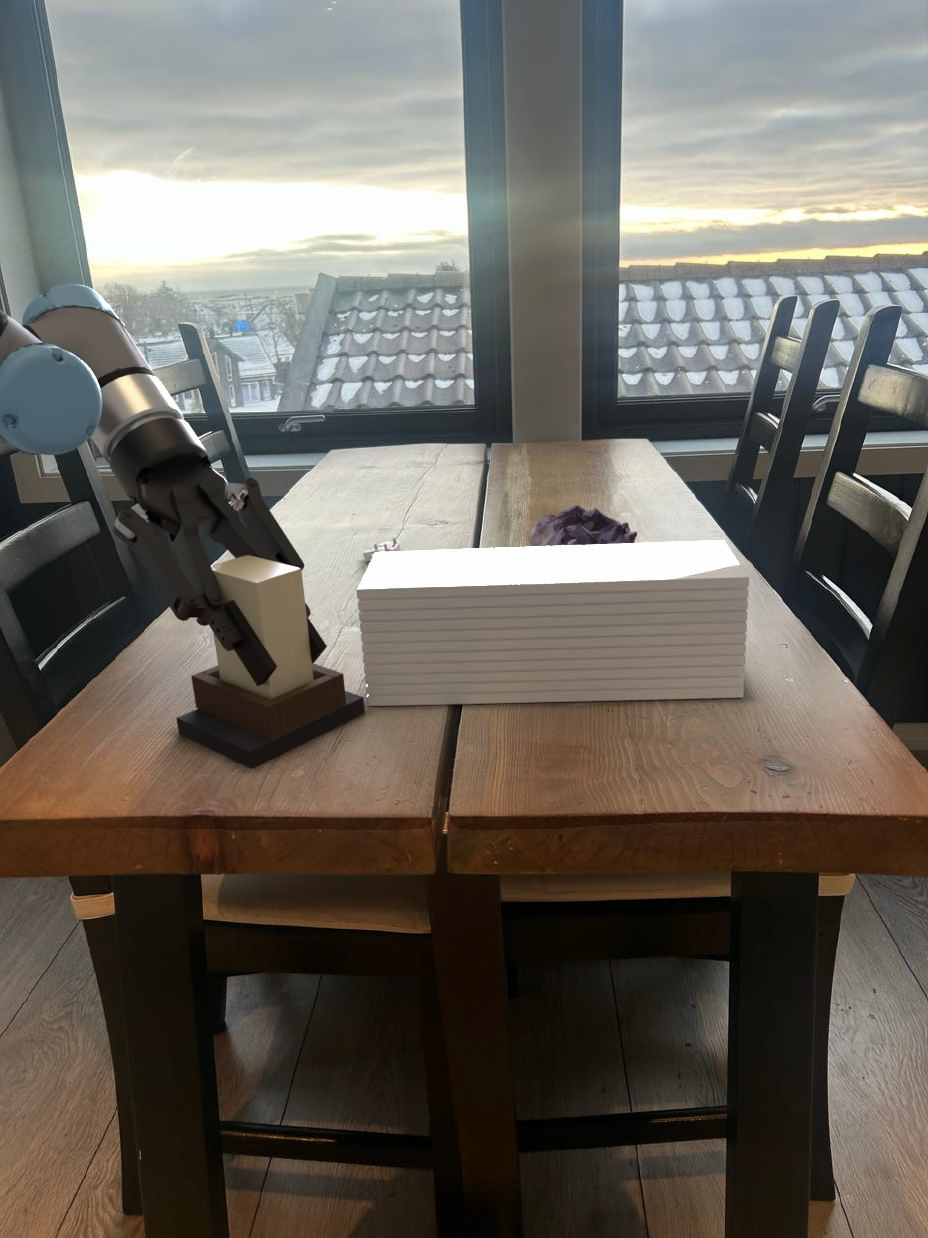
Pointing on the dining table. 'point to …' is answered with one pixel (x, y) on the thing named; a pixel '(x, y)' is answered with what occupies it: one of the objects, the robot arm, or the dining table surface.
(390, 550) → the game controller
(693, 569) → the stack of papers
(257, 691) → the cream rectangular block
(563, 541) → the geode
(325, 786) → the dining table surface
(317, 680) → the square socket base
